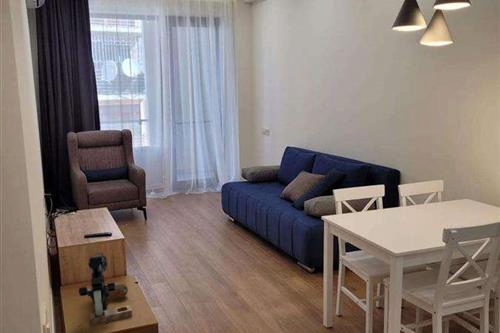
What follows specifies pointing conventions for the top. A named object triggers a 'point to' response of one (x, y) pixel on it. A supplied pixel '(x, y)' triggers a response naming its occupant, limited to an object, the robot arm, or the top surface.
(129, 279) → the top surface
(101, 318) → the brown slotted board
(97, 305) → the post
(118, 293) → the tin
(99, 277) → the robot arm
